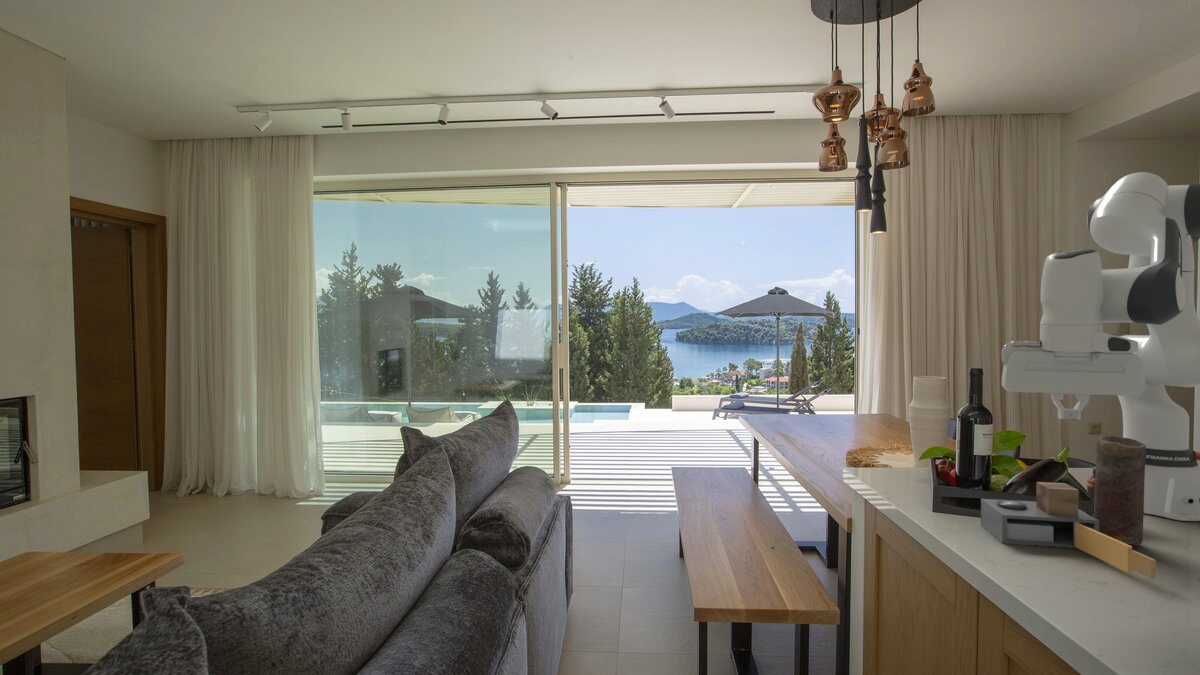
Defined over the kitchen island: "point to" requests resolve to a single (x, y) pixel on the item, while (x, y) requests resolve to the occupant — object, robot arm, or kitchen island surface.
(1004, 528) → the grey box
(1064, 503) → the walnut block
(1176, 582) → the kitchen island surface
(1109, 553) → the side door
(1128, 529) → the candle
